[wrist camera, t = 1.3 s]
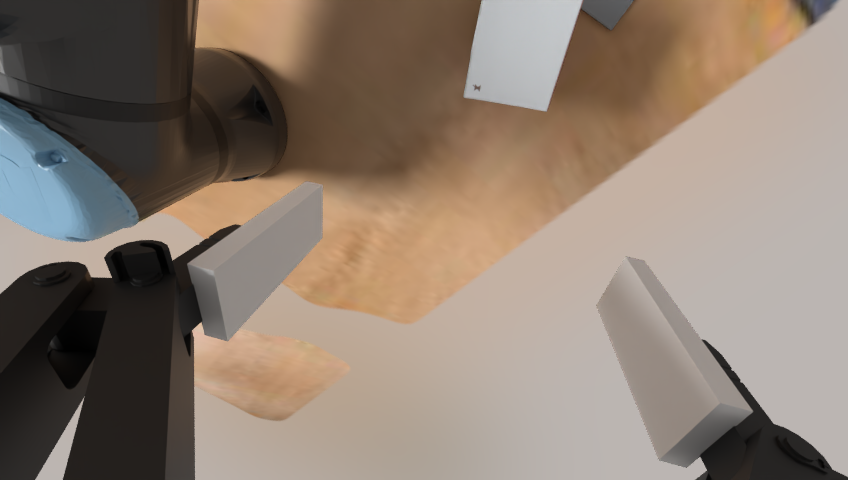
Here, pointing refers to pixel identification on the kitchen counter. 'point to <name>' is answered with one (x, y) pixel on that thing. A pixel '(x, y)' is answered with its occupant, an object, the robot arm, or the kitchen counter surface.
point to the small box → (520, 51)
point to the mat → (606, 10)
